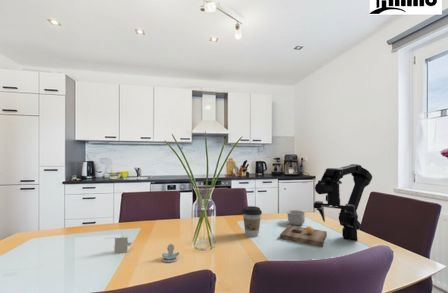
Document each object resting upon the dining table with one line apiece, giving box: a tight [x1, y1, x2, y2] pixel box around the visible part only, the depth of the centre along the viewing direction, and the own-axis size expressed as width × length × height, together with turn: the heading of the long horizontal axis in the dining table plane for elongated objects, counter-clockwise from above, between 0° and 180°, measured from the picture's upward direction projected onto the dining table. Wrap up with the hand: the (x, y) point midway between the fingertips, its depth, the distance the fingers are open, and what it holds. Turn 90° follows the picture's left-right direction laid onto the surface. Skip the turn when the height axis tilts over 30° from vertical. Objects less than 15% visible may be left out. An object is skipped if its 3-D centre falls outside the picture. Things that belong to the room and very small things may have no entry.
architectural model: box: [113, 236, 133, 254], centre depth 105 cm, size 3×7×7 cm, turn 98°
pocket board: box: [279, 224, 328, 248], centre depth 123 cm, size 21×18×2 cm
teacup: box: [286, 209, 306, 227], centre depth 148 cm, size 14×11×8 cm
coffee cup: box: [241, 205, 263, 238], centre depth 127 cm, size 11×11×15 cm
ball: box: [305, 225, 314, 234], centre depth 122 cm, size 4×4×4 cm
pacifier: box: [161, 243, 180, 263], centre depth 97 cm, size 7×6×6 cm
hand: (334, 223), depth 116 cm, fingers open, 9 cm apart
